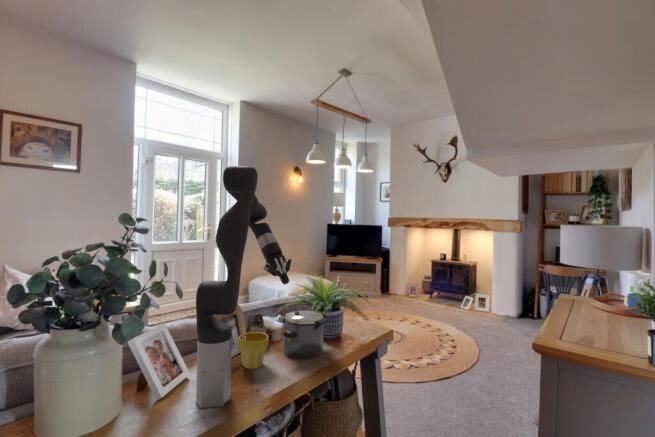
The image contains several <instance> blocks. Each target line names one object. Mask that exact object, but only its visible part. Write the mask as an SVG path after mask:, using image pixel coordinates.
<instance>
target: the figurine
mask: <svg viewBox="0 0 655 437" xmlns="http://www.w3.org/2000/svg"><path fill="white" fill-rule="evenodd" d="M263 316H264V314H262V313H260V312H257V313H256V314H254V315H253V317H252V322H251V324H250V326H251V327H250V328H249V333H250V332H260V333H265V334H267V331H266V325H265V321H264V318H263Z"/></svg>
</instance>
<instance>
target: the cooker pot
mask: <svg viewBox="0 0 655 437" xmlns="http://www.w3.org/2000/svg"><path fill="white" fill-rule="evenodd" d="M277 320H278V323H281V324H283V325H284V327H283V354H284V355H285V356H287V357H288V358H291V359H293V360H294V359H295V360H311V359H316V358H318V357H320V356H322V355H323V351H324V347H323V346H324V324H322V325H318V324H312V325H297V324H291V323H289V322H287V321H286V320H285V316H278V319H277Z"/></svg>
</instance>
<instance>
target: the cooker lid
mask: <svg viewBox="0 0 655 437" xmlns="http://www.w3.org/2000/svg"><path fill="white" fill-rule="evenodd" d="M284 317H285V320H286V321H287V322H289V323H291V324H297V325H312V324H318V325H322V324H323V325H325V324H327V323H329V318H325V317H324V315H323V314H322V313H321V312H317V311H313V310H296V311H295V310H294V311H290V312H288V313H286V314H285V315H284Z"/></svg>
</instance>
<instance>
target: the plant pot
mask: <svg viewBox="0 0 655 437" xmlns="http://www.w3.org/2000/svg"><path fill="white" fill-rule="evenodd" d="M244 334H245V336H246V341H243V340H242V334H240V335H239V336H238V339H237V340H238V341H237V346H238V349H239V350H240V355H241V356H242V357H241V362H242V366H243V367H244V368H246V369H248V370H249V369H250V370H253V369H258V368H261V367H262V366H263V364H264V359H265V354H266V350H267V348H268V347H269V339H270V338H269V335H268V334H267V333H266V334H265V333H260V332H250V331H249V332H244Z"/></svg>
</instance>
